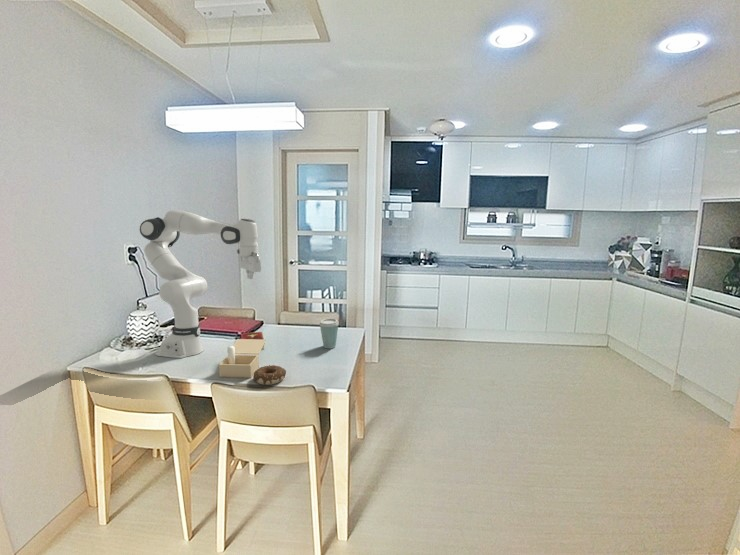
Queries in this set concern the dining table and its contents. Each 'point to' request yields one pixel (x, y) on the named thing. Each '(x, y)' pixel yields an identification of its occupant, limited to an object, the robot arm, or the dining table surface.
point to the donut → (269, 375)
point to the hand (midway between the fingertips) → (250, 278)
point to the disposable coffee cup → (329, 332)
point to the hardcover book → (253, 336)
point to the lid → (248, 346)
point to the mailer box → (238, 365)
